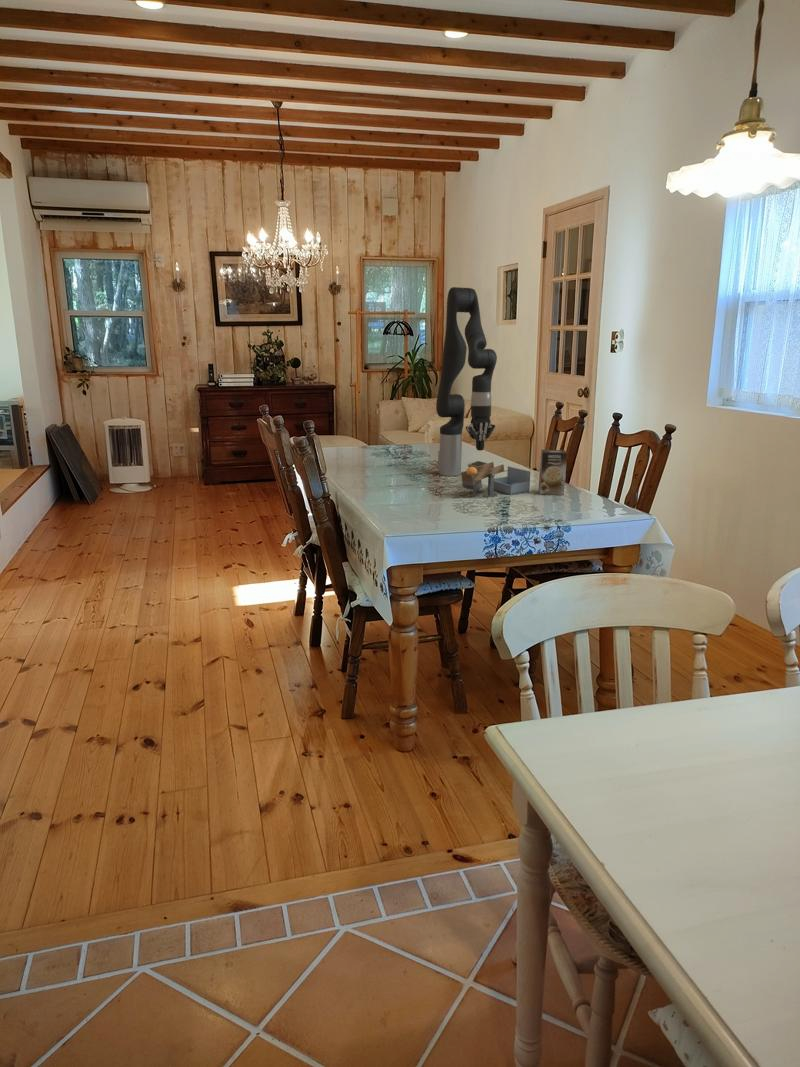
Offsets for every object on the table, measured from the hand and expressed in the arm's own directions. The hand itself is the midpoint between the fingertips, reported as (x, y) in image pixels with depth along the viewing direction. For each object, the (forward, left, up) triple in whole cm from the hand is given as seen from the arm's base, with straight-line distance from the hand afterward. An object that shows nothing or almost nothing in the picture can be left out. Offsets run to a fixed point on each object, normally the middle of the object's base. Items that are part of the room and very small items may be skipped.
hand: (479, 450), depth 283 cm
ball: (+8, -10, -6) cm, 15 cm away
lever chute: (+4, -4, -11) cm, 12 cm away
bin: (+8, +8, -15) cm, 19 cm away
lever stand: (+8, -5, -15) cm, 18 cm away
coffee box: (+20, +18, -15) cm, 31 cm away
